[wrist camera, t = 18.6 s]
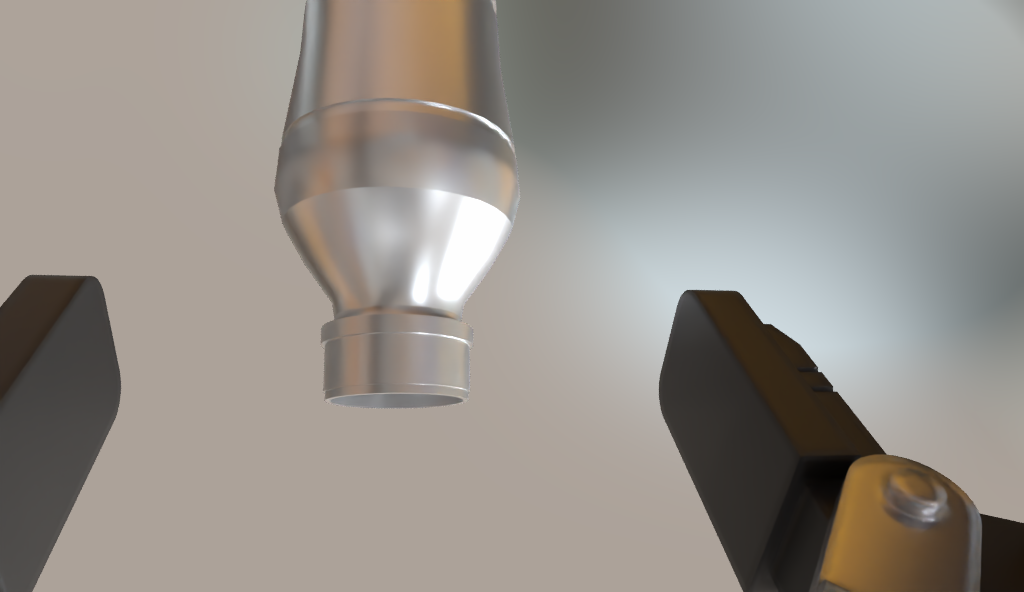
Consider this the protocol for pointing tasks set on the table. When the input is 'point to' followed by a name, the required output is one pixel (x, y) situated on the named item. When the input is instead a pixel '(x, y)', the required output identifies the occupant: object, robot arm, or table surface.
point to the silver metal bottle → (398, 189)
